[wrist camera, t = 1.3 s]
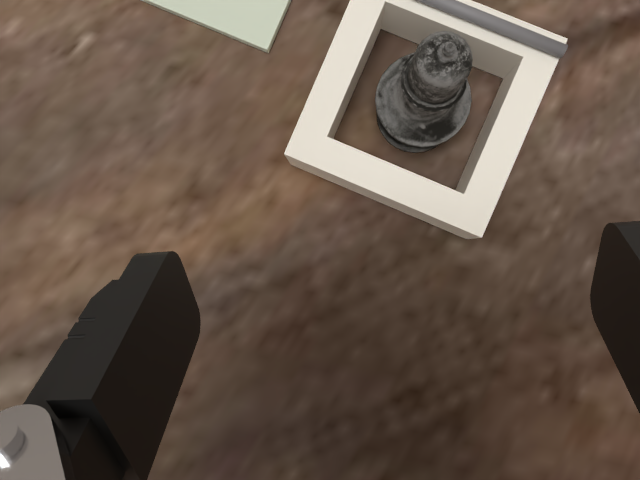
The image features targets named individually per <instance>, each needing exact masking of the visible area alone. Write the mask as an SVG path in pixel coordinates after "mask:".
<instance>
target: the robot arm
mask: <svg viewBox="0 0 640 480" xmlns="http://www.w3.org/2000/svg"><path fill="white" fill-rule="evenodd" d="M590 300H591V309H592V314H593V318H594V321H595V323H596V325H597V327H598V329H599V331H600V333H601V335H602V337H603V340H604V342H605V344H606V346H607V348H608V350H609V352H610V354H611V356H612V358H613V360H614V362H615V364H616V366H617V368H618V370H619V372H620V374H621V376H622V378H623V380H624V382H625V385H626V387H627V389H628V391H629V393H630V395H631V397H632V399H633V401H634V403H635V405H636V407H637V409H638V411H639V413H640V221H632V222H617V223H609V224H607V225H606V226H605V228H604V230H603V233H602V237H601V242H600V247H599V252H598V257H597V262H596V267H595V271H594V276H593V281H592V286H591V294H590ZM78 319H79V322H76V323H75V325H74V326H73V328H72V329H71V331H70V332H69V334H68V339H67V340H64V342H63V343H62V345H61V346H60V348H59V349H58V351H57V353H56V354H55V356H54V357H53V359H52V360H51V362H50V363H49V365H48V367H47V368H46V370H45V371H44V373H43V374H42V376H41V377H40V379H39V380H38V382H37V384H36V385H35V387H34V388H33V390H32V391H31V393H30V394H29V396H28V398H27V399H26V401H25V402H24V404H23V405H18V406H14V407H10V408H7V409H5V410H3V411H0V480H147V478H148V475H149V472H150V470H151V467H152V464H153V461H154V459H155V456H156V453H157V450H158V448H159V445H160V442H161V439H162V437H163V434H164V431H165V428H166V426H167V423H168V420H169V417H170V415H171V412H172V409H173V406H174V404H175V401H176V398H177V396H178V393H179V390H180V387H181V385H182V382H183V379H184V376H185V374H186V371H187V368H188V365H189V363H190V360H191V357H192V354H193V352H194V349H195V346H196V343H197V341H198V337H199V333H200V313H199V308H198V305H197V302H196V300H195V297H194V294H193V292H192V289H191V286H190V283H189V281H188V278H187V275H186V273H185V270H184V267H183V264H182V262H181V259H180V257H179V256H178V254H177V253H176V252H173V251H170V252H156V253H141V254H136V255H134V256H133V258H132V259H131V261H130V262H129V264H128V266H127V267H126V269H125V270H124V272H123V274H122V275H121V277H120V279H119V280H112V281H111V282H110V283H109V284H107V285H106V286H105V287H104V288H103V289H102V290H100V291H99V292H98V293H97V294H96V295H95V296H93V297H92V298H91V300H90V301H89V303H88V304H87V306H86V307H85V309H84V311H83V312H82V314H81V315H80V317H79V318H78Z"/></svg>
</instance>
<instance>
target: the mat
mask: <svg viewBox="0 0 640 480" xmlns="http://www.w3.org/2000/svg"><path fill="white" fill-rule="evenodd" d="M141 1H143V2H146V3H148V4H151V5H153V6H156V7H158V8H160V9H163V10H165V11H168V12H170V13H172V14H175V15H177V16H180V17H182V18H184V19H187V20H189V21H192V22H194V23H197V24H199V25H201V26H204V27H206V28H209V29H211V30H213V31H216V32H218V33H221V34H223V35H226V36H228V37H230V38H233V39H235V40H238V41H240V42H242V43H245V44H247V45H250V46H252V47H255V48H257V49H259V50H262V51H264V52H267V53H269V51H270V49H271V47H272V44H273V42H274V40H275V37H276V35H277V33H278V30H279V28H280V26H281V23H282V21H283V19H284V17H285V14H286V12H287V10H288V7H289V5H290V3H291V0H141Z"/></svg>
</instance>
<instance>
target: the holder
mask: <svg viewBox="0 0 640 480" xmlns="http://www.w3.org/2000/svg"><path fill="white" fill-rule="evenodd" d="M381 29H382V30H385V31H387V32H390V33H392V34H395V35H397V36H399V37H402V38H404V39H407V40H409V41H412V42H414V43H417V44H420V43H421V42H422V40H423V39H425V38H426V37H427V36H429V35H430V34H433V33H435V32H439V31H449V32H453V33H456V34H458V35H460V36H461V37H462V38H464V39H465V40H466V42H467V43H468V44H469V46H470V49H471V51H472V57H473V62H472V66H473V67H476V68H478V69H481V70H483V71H486V72H488V73H490V74H493V75H495V76H498V77H500V78H503V80H502V83H501V85H500V87H499V90H498V92H497V94H496V97H495V99H494V101H493V103H492V106H491V108H490V110H489V113H488V115H487V117H486V120H485V122H484V124H483V127H482V129H481V131H480V134H479V136H478V138H477V141H476V143H475V145H474V147H473V150H472V152H471V154H470V157H469V159H468V161H467V164H466V166H465V168H464V171H463V173H462V175H461V178H460V180H459V182H458V185H457V187H456V189H455V190H453V189H451V188H448V187H446V186H444V185H441V184H439V183H436V182H434V181H432V180H429V179H427V178H425V177H422V176H420V175H417V174H415V173H413V172H410V171H408V170H406V169H403V168H401V167H398V166H396V165H394V164H391V163H389V162H386V161H384V160H382V159H379V158H377V157H375V156H372V155H370V154H367V153H365V152H363V151H360V150H358V149H356V148H353V147H351V146H348V145H346V144H344V143H341V142H339V141H337V140H334V139H333V138H334V136H335V134H336V132H337V129H338V127H339V125H340V122H341V120H342V118H343V115H344V113H345V111H346V108H347V106H348V104H349V101H350V99H351V97H352V94H353V92H354V90H355V88H356V85H357V83H358V81H359V78H360V76H361V74H362V71H363V69H364V67H365V64H366V62H367V60H368V57H369V55H370V53H371V50H372V48H373V46H374V44H375V41H376V39H377V37H378V34H379V32H380V30H381ZM566 42H567V38H564V37H562V36H559V35H557V34H554V33H552V32H549V31H547V30H544V29H542V28H539V27H537V26H534V25H532V24H529V23H527V22H524V21H522V20H519V19H517V18H514V17H512V16H509V15H507V14H504V13H502V12H499V11H497V10H494V9H492V8H489V7H487V6H484V5H482V4H479V3H477V2H474V1H472V0H350V2H349V5H348V7H347V9H346V12H345V14H344V16H343V18H342V21H341V23H340V25H339V28H338V30H337V32H336V35H335V37H334V39H333V42H332V44H331V46H330V49H329V51H328V53H327V56H326V58H325V60H324V62H323V65H322V67H321V69H320V72H319V74H318V76H317V79H316V81H315V83H314V86H313V88H312V90H311V93H310V95H309V97H308V100H307V102H306V104H305V106H304V109H303V111H302V113H301V116H300V118H299V120H298V123H297V125H296V127H295V130H294V132H293V134H292V137H291V139H290V141H289V144H288V146H287V148H286V150H285V153H284V155H285V156H286V158H287V159H288V161H289V163H290V164H291V165H293V166H295V167H298V168H300V169H302V170H305V171H307V172H309V173H312V174H314V175H317V176H319V177H321V178H324V179H326V180H328V181H331V182H333V183H335V184H338V185H340V186H342V187H345V188H347V189H349V190H352V191H354V192H357V193H359V194H361V195H364V196H366V197H368V198H371V199H373V200H375V201H378V202H380V203H382V204H385V205H387V206H389V207H392V208H394V209H397V210H399V211H401V212H404V213H406V214H408V215H411V216H413V217H415V218H418V219H420V220H422V221H425V222H427V223H429V224H432V225H434V226H437V227H439V228H441V229H444V230H446V231H448V232H451V233H453V234H455V235H458V236H460V237H462V238H465V239H474V238H482V236H483V234H484V232H485V229H486V227H487V225H488V222H489V220H490V218H491V215H492V213H493V211H494V208H495V206H496V204H497V202H498V199H499V197H500V195H501V192H502V190H503V188H504V185H505V183H506V181H507V178H508V176H509V174H510V171H511V169H512V167H513V164H514V162H515V160H516V158H517V155H518V153H519V151H520V148H521V146H522V144H523V141H524V139H525V137H526V134H527V132H528V130H529V127H530V125H531V123H532V120H533V118H534V116H535V114H536V111H537V109H538V107H539V104H540V102H541V100H542V97H543V95H544V93H545V90H546V88H547V86H548V83H549V81H550V79H551V76H552V74H553V72H554V70H555V67H556V65H557V63H558V60H559V58H562V56H563V55H564V53H565V52H566V50H567V47H568V45H567V44H566Z"/></svg>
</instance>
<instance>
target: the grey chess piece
mask: <svg viewBox="0 0 640 480" xmlns="http://www.w3.org/2000/svg"><path fill="white" fill-rule="evenodd" d="M472 62H473V57H472V51H471V49H470V46H469V44H468V43H467V42H466V40H465V39H464V38H462V37H461V36H460V35H458V34H456V33H453V32H449V31H439V32H435V33H433V34H430V35H429V36H427V37H426V38H425V39H423V40H422V42H421V43H420V44H419V45H418V47H417V49H416V52H414V53H412V54H409V55H407V56H404V57H401V58H399V59H398V60H397V61H395V62H394V63H393V64H391V65H390V66H389V67H388V69H387V70H386V71H385V72H384V74H383V75H382V77H381V79H380V81H379V83H378V86H377V91H376V97H375V102H376V111H377V122H378V126H379V128H380V131H381V133H382V135H383V136H384V137H385V139H386V140H387V141H388V142H389V143H390V144H392V145H393V146H394V147H396V148H398V149H400V150H403V151H406V152H412V153H417V152H425V151H428V150H430V149H433V148H435V147H436V146H438V145H439V144H440V143H443V142H445V141H447V140H448V139H450V138H451V137H453V136H454V135H455V134H457V132H458V131H459V130H460V129H461V127H462V126H463V125H464V124H465V121H466V119H467V117H468V115H469V112H470V106H471V91H470V86H469V83H468V81H467V77H468V75H469V73H470V71H471V69H472Z"/></svg>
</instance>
